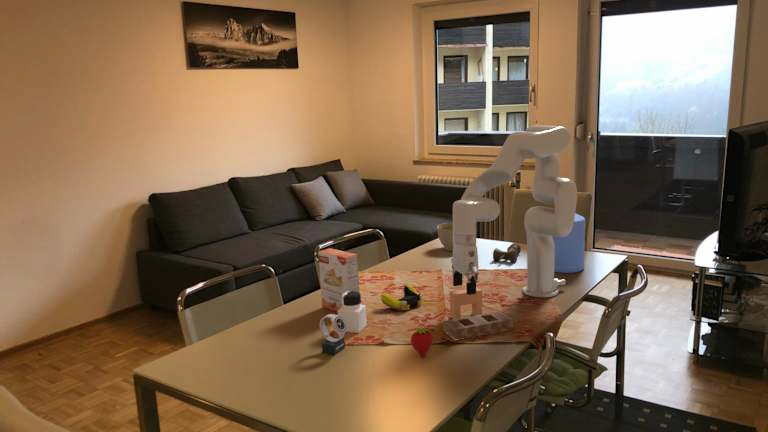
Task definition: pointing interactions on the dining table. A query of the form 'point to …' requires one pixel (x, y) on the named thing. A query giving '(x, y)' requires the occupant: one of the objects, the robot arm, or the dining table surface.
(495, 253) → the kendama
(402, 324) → the dining table surface
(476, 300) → the peach block
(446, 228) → the planter bowl
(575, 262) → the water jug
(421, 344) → the strawberry
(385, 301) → the gaming controller
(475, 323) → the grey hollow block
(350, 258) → the cracker box
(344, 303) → the medicine bottle
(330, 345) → the watch
